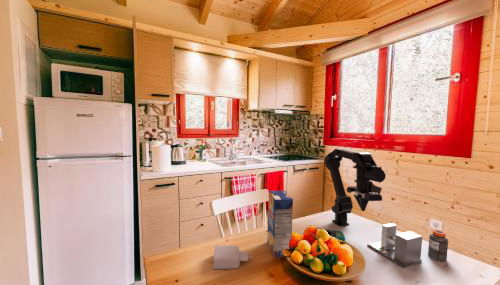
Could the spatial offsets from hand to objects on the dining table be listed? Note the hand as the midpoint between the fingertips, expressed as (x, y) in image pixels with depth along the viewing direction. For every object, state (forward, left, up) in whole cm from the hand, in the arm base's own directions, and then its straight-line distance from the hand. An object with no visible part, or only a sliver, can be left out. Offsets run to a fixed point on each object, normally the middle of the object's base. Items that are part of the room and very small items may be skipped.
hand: (363, 210), depth 105 cm
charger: (+6, -64, -14) cm, 66 cm away
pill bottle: (+20, +20, -14) cm, 31 cm away
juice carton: (+1, -43, -14) cm, 45 cm away
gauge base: (+14, +4, -13) cm, 20 cm away
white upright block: (+13, +3, -12) cm, 18 cm away
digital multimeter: (-4, -16, -14) cm, 21 cm away
